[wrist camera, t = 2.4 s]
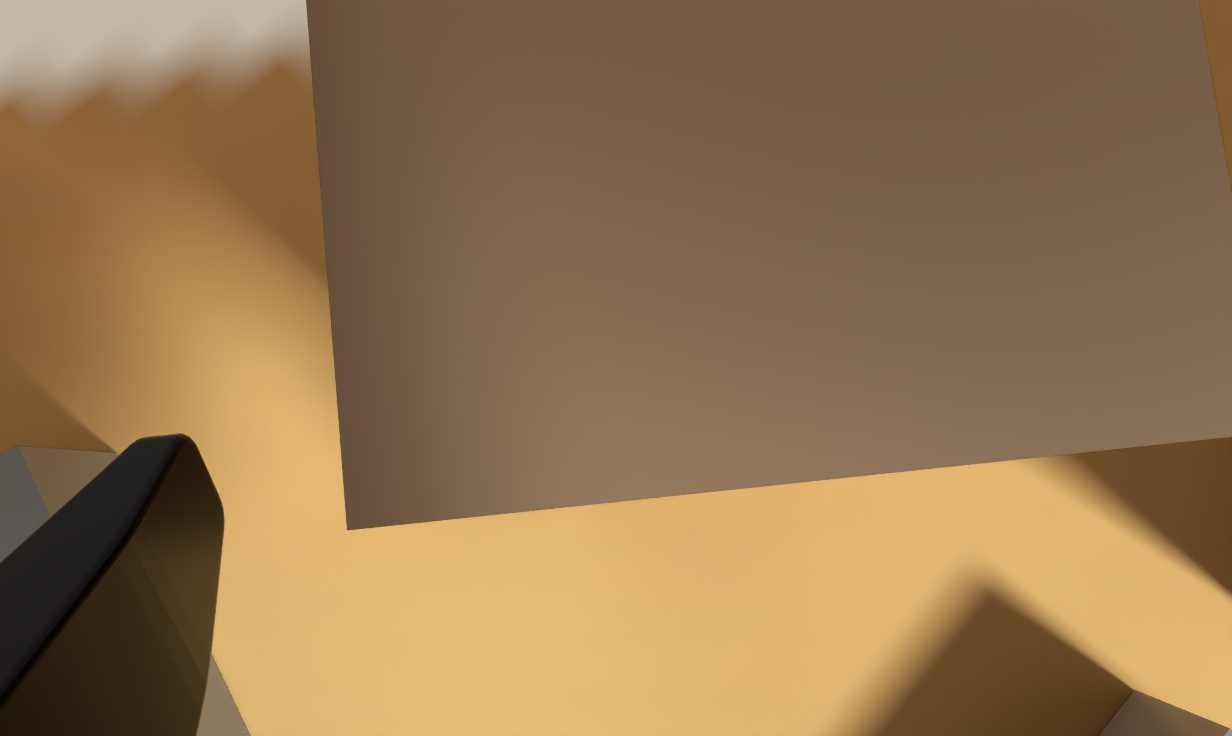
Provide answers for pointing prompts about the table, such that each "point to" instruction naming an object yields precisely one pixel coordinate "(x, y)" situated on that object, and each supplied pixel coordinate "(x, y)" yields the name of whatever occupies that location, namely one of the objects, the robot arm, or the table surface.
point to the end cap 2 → (1159, 720)
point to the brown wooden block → (760, 242)
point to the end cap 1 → (35, 490)
